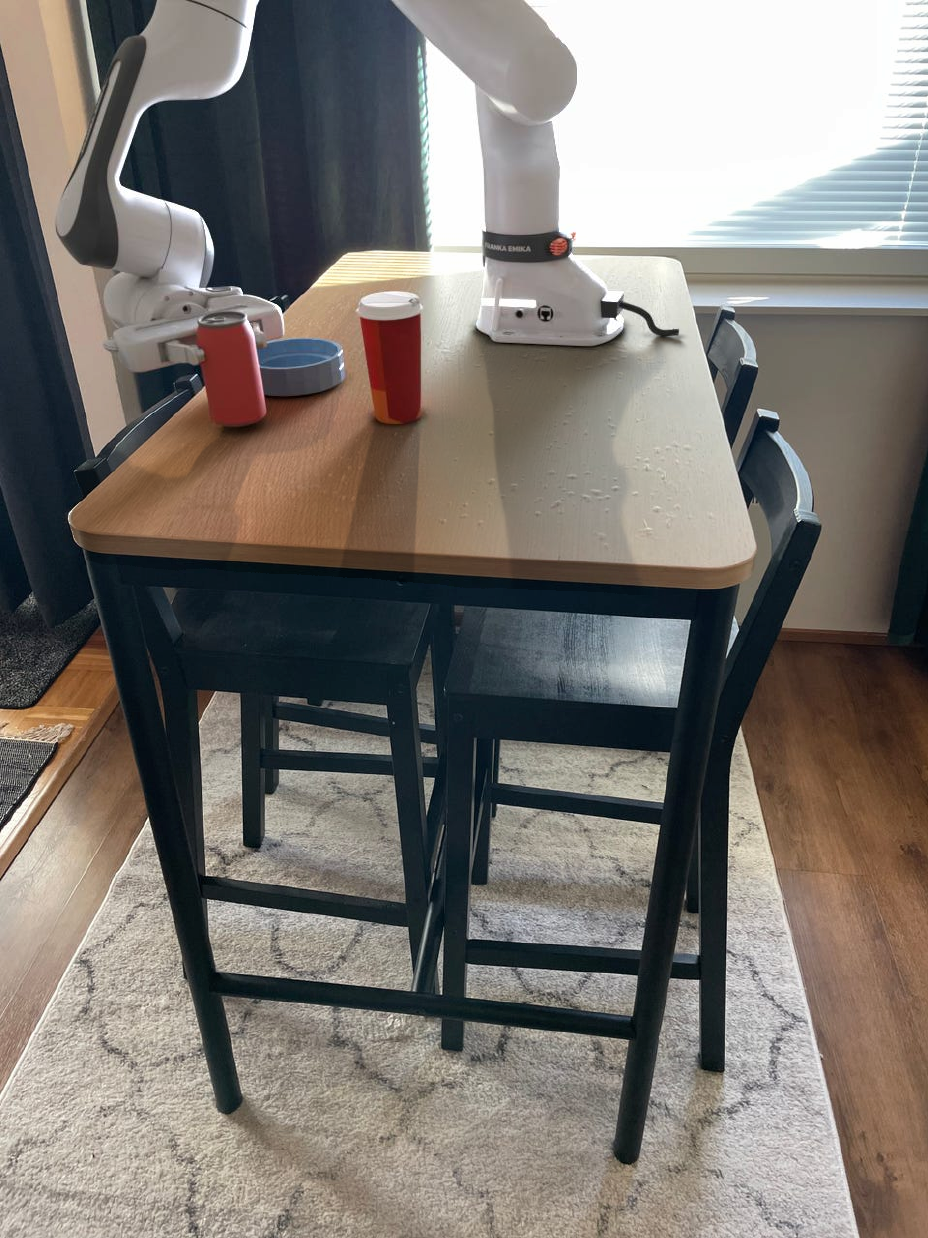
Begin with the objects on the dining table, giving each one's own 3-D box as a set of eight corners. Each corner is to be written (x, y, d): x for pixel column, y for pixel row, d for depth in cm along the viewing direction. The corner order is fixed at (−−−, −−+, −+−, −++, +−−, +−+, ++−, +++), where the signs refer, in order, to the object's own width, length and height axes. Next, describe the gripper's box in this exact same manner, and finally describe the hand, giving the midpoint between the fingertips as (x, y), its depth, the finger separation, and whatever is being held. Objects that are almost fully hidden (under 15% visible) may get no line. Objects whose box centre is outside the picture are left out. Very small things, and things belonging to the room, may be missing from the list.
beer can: (215, 410, 114) (197, 311, 107) (269, 406, 114) (254, 308, 107) (208, 430, 108) (187, 327, 102) (264, 427, 109) (248, 324, 102)
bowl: (363, 371, 127) (360, 342, 125) (310, 404, 117) (306, 373, 115) (283, 361, 132) (279, 333, 130) (226, 391, 122) (221, 362, 120)
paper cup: (438, 407, 115) (432, 291, 107) (415, 430, 109) (407, 309, 101) (380, 401, 117) (370, 288, 110) (355, 424, 111) (343, 305, 104)
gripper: (90, 315, 108) (138, 341, 99) (247, 283, 118) (303, 303, 109) (104, 368, 111) (151, 398, 102) (254, 332, 122) (309, 356, 113)
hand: (231, 349), depth 106 cm, fingers closed on beer can, 6 cm apart
